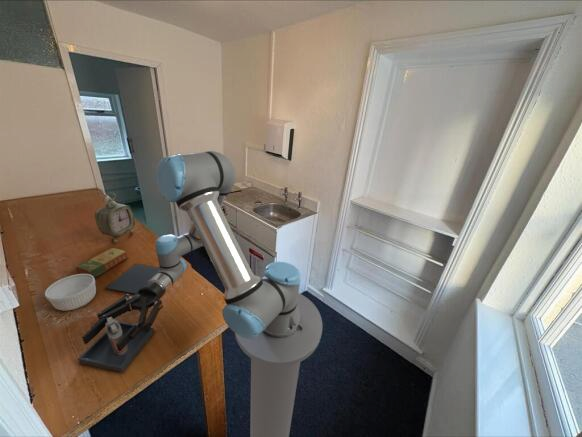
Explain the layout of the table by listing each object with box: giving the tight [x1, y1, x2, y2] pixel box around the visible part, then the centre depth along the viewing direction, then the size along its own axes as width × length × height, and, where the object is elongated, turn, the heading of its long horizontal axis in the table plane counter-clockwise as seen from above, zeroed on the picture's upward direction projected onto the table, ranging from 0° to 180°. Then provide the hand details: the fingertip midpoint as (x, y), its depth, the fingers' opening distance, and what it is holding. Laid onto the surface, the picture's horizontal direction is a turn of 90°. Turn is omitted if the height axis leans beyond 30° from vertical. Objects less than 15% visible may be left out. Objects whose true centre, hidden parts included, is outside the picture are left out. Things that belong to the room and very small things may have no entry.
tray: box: [77, 320, 155, 373], centre depth 71 cm, size 13×13×2 cm
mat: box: [105, 263, 160, 295], centre depth 98 cm, size 16×16×1 cm
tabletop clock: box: [94, 192, 136, 244], centre depth 120 cm, size 14×9×25 cm, turn 168°
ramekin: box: [44, 273, 97, 312], centre depth 84 cm, size 13×13×7 cm
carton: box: [75, 247, 128, 279], centre depth 102 cm, size 8×16×4 cm, turn 163°
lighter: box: [104, 317, 128, 356], centre depth 69 cm, size 8×3×10 cm, turn 47°
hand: (101, 344), depth 64 cm, fingers open, 10 cm apart
